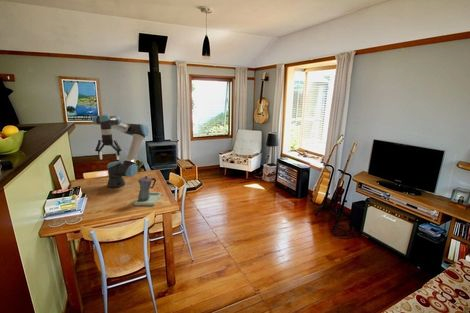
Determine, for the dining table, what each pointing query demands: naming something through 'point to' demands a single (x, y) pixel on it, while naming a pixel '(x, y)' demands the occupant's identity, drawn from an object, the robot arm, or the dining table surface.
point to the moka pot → (145, 187)
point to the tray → (150, 202)
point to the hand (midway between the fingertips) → (109, 159)
